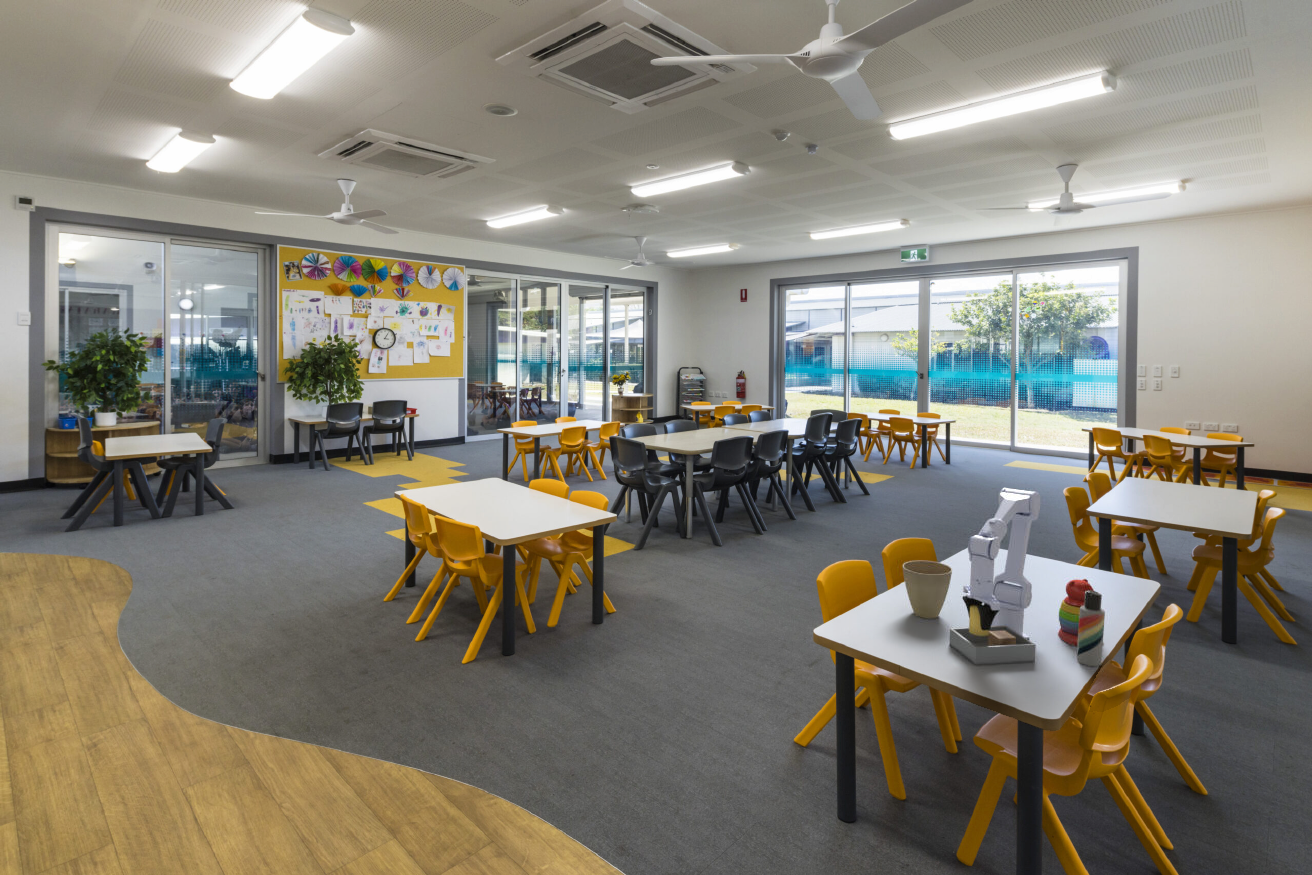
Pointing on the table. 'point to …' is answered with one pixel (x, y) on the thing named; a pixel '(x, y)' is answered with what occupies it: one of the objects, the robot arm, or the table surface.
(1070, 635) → the stacking bear
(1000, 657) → the tray
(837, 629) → the table surface
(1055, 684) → the table surface
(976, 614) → the mustard cylinder
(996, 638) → the wooden block
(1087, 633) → the lotion bottle
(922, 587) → the plant pot
